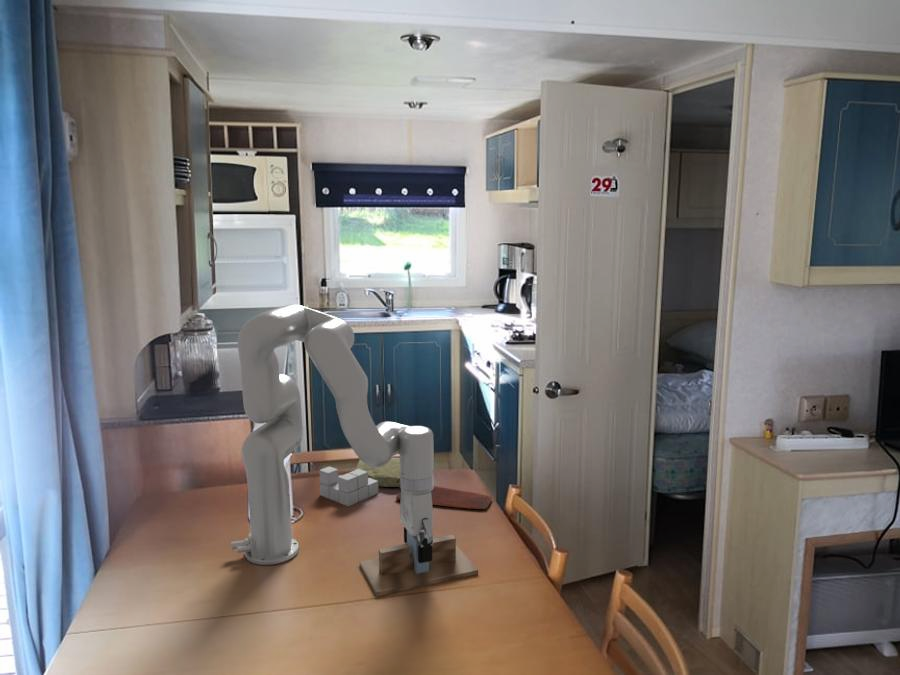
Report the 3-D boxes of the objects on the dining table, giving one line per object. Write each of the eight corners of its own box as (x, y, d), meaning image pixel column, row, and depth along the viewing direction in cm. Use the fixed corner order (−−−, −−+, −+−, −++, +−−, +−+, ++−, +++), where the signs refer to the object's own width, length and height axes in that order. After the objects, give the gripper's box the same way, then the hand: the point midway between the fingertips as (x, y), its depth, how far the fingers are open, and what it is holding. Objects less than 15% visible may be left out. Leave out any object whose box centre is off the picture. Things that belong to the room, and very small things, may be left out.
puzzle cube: (378, 493, 200) (378, 467, 198) (348, 507, 191) (347, 480, 189) (350, 483, 207) (350, 458, 206) (320, 495, 198) (319, 469, 197)
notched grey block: (429, 571, 155) (428, 538, 153) (416, 573, 154) (416, 541, 152) (419, 557, 161) (418, 526, 159) (407, 560, 160) (406, 528, 158)
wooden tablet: (394, 502, 193) (393, 496, 193) (406, 486, 203) (405, 481, 202) (485, 513, 186) (485, 508, 185) (493, 496, 195) (493, 491, 195)
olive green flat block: (358, 454, 219) (419, 447, 219) (361, 472, 221) (422, 465, 220) (348, 477, 201) (415, 470, 200) (351, 496, 202) (418, 489, 201)
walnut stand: (376, 596, 146) (375, 568, 145) (359, 565, 159) (358, 539, 158) (478, 573, 155) (478, 547, 154) (454, 546, 168) (454, 521, 167)
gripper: (389, 470, 160) (390, 537, 163) (413, 499, 144) (414, 573, 147) (419, 465, 162) (420, 532, 166) (446, 493, 147) (447, 566, 150)
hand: (417, 551), depth 156 cm, fingers open, 9 cm apart
